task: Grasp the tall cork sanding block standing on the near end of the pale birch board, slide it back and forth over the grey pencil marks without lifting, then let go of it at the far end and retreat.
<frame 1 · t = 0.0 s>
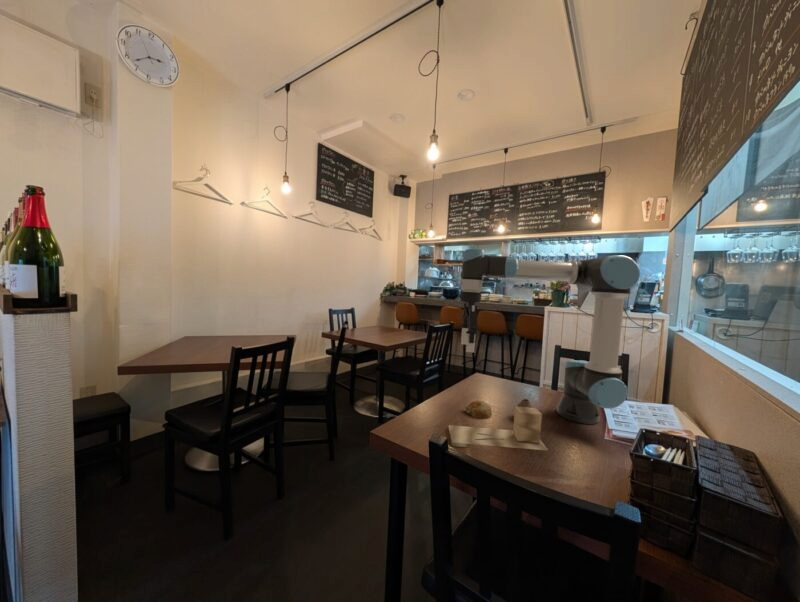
hand: (467, 348, 115), 28 cm above the table, fingers open, 13 cm apart
board: (495, 440, 104), on the table
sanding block: (525, 439, 103), point 1 cm above the table, touching board
bread roll: (478, 417, 122), on the table
vase: (523, 422, 119), on the table
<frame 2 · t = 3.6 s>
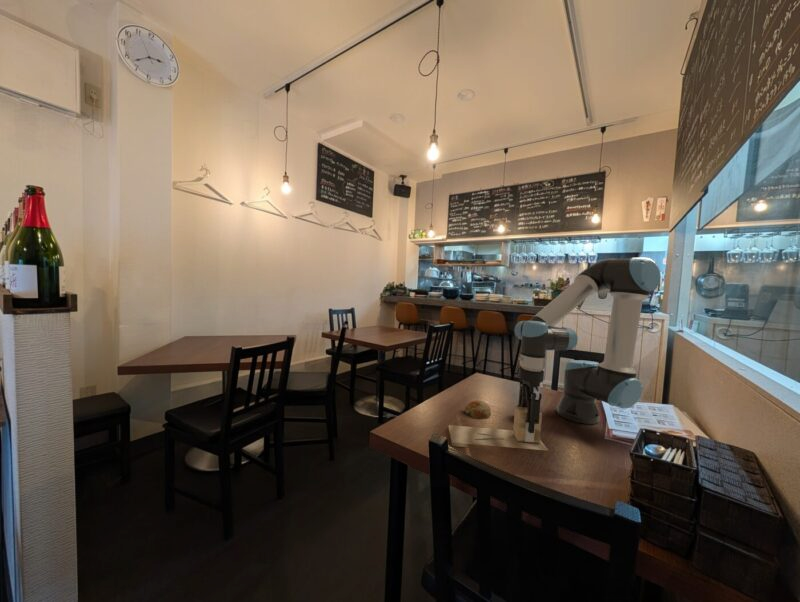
hand: (526, 436, 103), 2 cm above the table, fingers closed on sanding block, 5 cm apart
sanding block: (525, 439, 103), point 1 cm above the table, touching board, gripper
everything else where it was.
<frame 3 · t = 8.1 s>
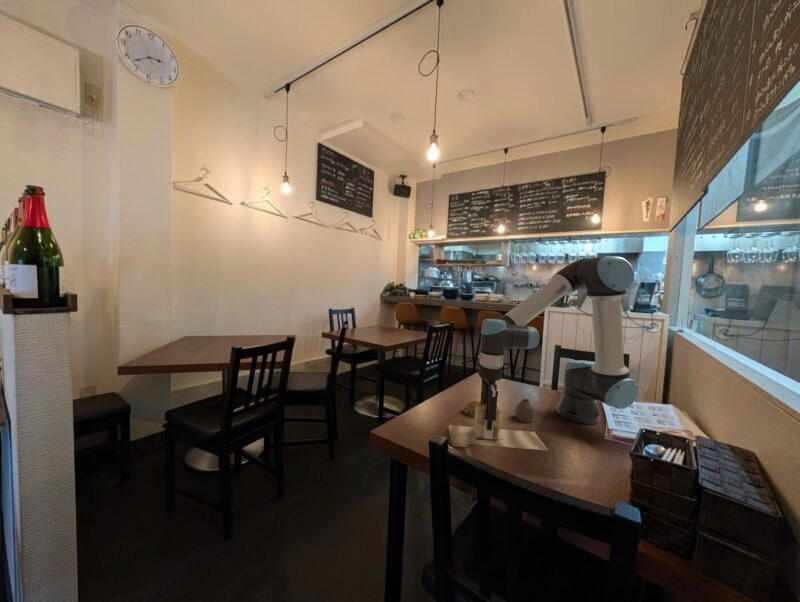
hand: (485, 433, 104), 2 cm above the table, fingers closed on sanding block, 5 cm apart
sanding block: (485, 435, 104), point 1 cm above the table, touching gripper
everything else where it was.
when the fingers open (2 cm above the table, at t = 12.8 s): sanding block stays where it is, resting on board.
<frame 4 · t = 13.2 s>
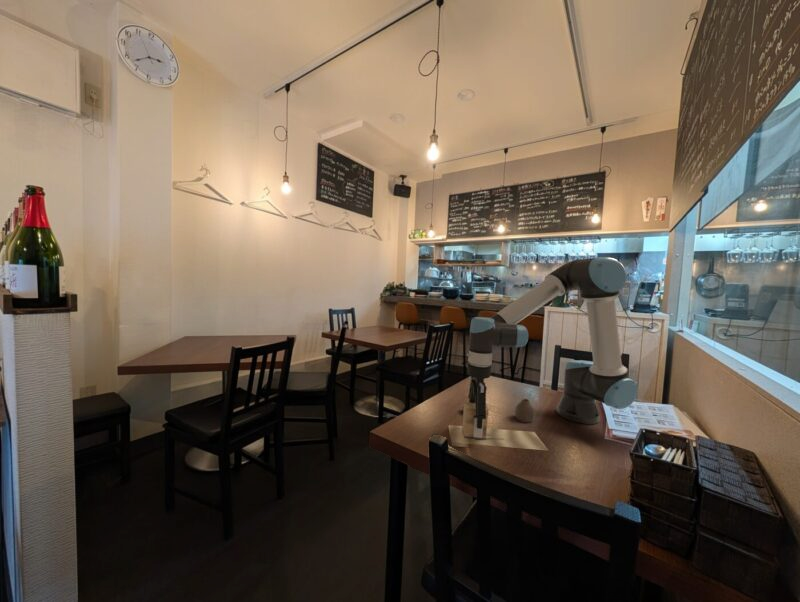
hand: (474, 428, 104), 3 cm above the table, fingers open, 10 cm apart
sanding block: (473, 435, 104), point 1 cm above the table, touching board
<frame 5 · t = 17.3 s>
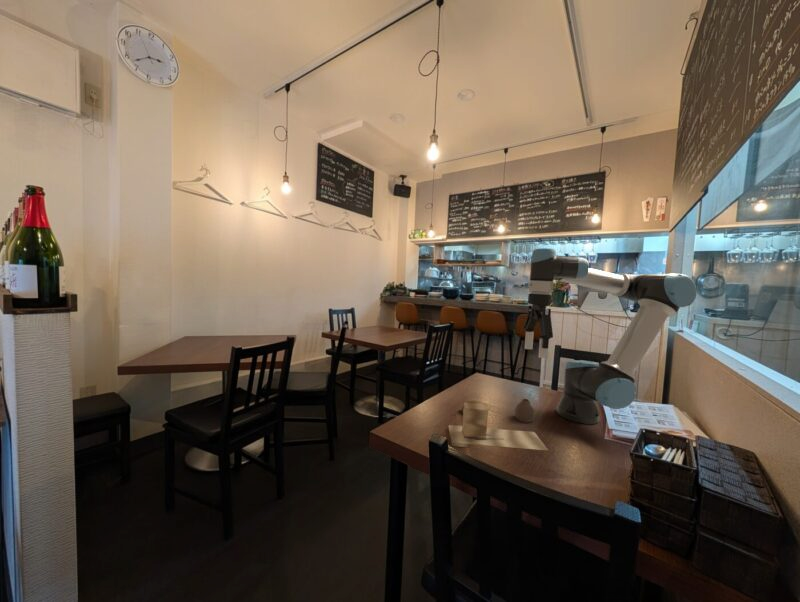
hand: (535, 353, 109), 29 cm above the table, fingers open, 13 cm apart
at the end: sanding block inside the target area (0.3 cm from its centre), point 1.2 cm above the table; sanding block tilted 0°; the gripper is holding nothing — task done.
